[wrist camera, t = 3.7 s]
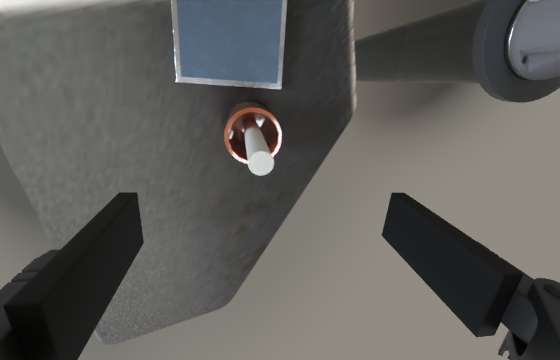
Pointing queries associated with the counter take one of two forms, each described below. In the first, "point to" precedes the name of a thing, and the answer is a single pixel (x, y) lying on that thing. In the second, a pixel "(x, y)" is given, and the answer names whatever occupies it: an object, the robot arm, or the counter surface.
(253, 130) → the stylus
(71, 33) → the counter surface
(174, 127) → the counter surface
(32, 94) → the counter surface
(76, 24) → the counter surface
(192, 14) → the tablet
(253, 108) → the pen pot
